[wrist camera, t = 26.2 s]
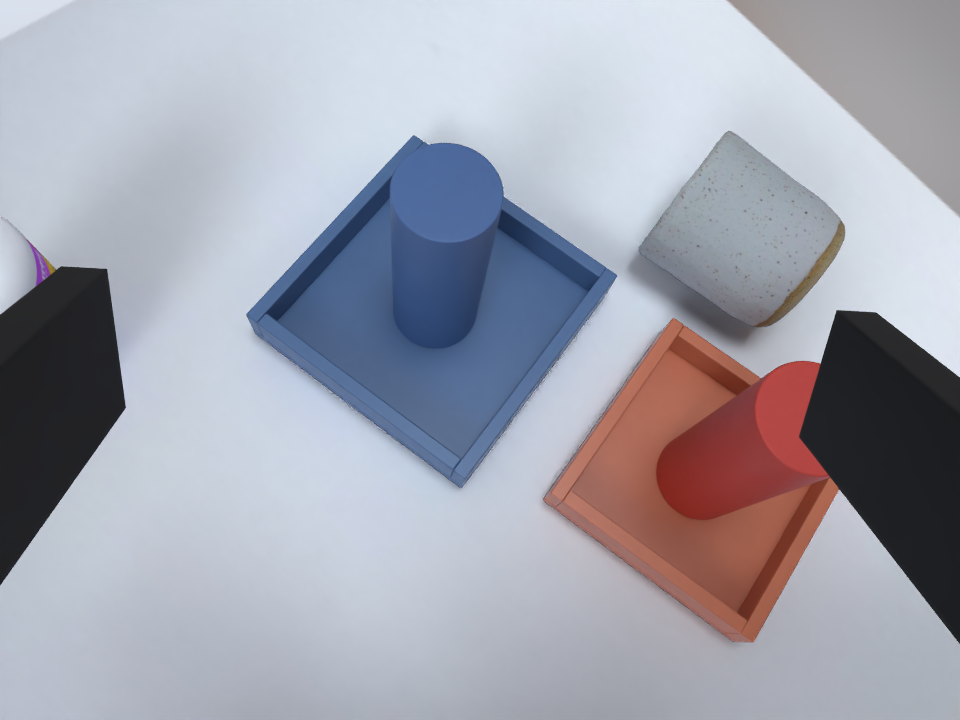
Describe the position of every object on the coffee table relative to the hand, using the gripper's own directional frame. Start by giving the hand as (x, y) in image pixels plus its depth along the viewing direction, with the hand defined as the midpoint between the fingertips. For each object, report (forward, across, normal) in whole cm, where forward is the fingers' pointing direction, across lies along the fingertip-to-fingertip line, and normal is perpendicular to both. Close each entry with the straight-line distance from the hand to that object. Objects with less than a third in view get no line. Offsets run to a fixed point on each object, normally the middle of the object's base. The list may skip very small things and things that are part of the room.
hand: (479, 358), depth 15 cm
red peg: (+20, +13, -16) cm, 29 cm away
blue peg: (+26, 0, -10) cm, 28 cm away
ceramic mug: (+30, +16, -7) cm, 35 cm away
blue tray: (+26, 0, -10) cm, 28 cm away
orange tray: (+20, +13, -16) cm, 29 cm away
